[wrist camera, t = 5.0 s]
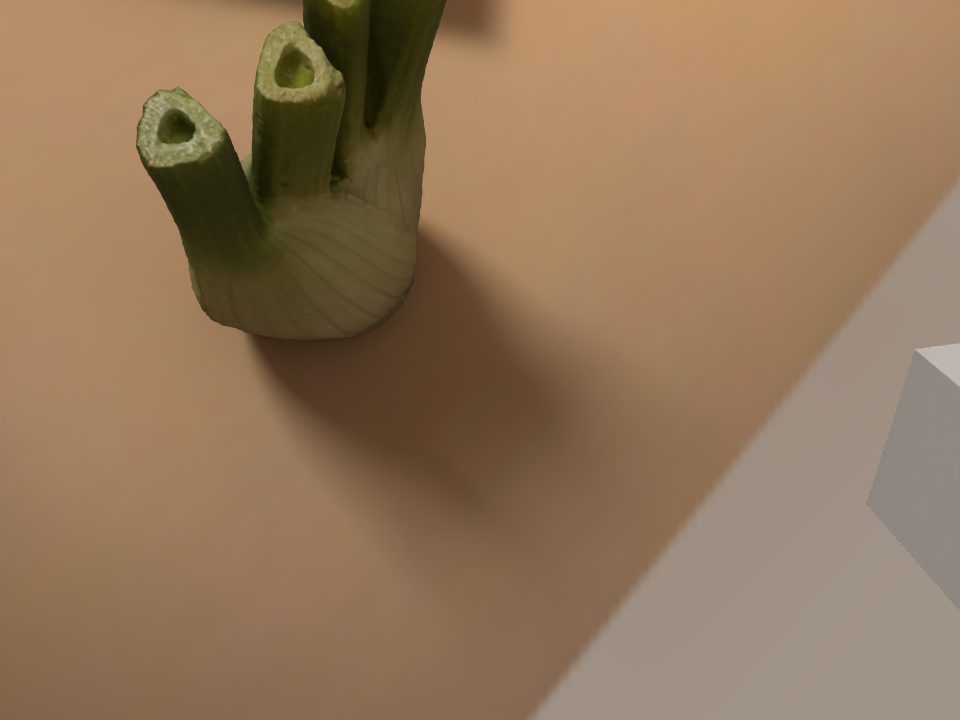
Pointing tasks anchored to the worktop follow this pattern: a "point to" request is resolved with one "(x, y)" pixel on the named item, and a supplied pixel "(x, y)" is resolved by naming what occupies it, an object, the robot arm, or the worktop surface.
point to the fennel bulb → (305, 174)
